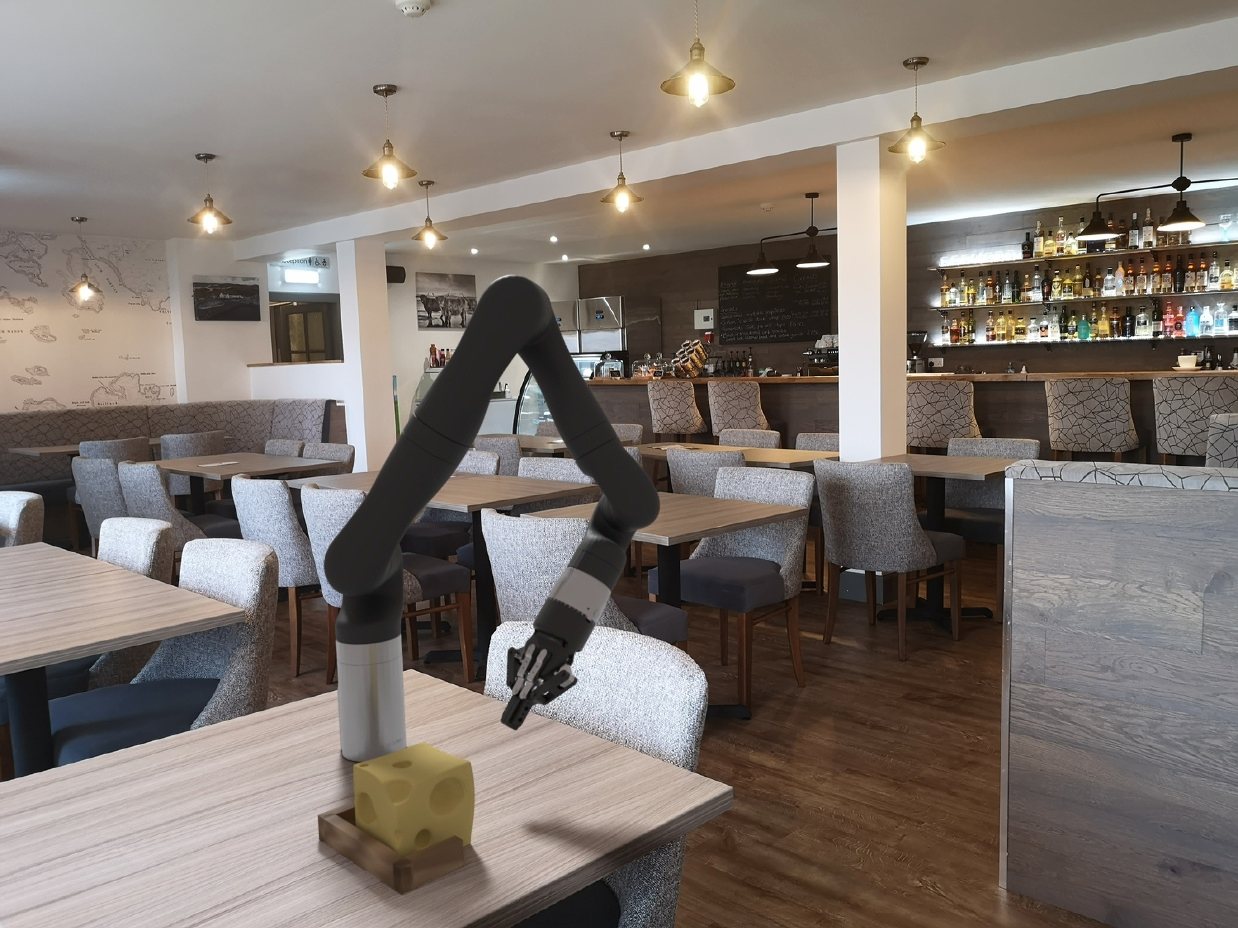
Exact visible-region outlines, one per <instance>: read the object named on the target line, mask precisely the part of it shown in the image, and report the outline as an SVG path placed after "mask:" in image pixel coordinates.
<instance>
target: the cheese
mask: <svg viewBox="0 0 1238 928" xmlns="http://www.w3.org/2000/svg"><path fill="white" fill-rule="evenodd" d="M472 767H473V766H472V763H471V761H469V760H467V759H464V758H463V757H459V756H457V755H456V756H455V755H453V754H450V753H447V752H445V751H443V750H440V749H439V748H436V747H434V746H433V745H431V744H429V743H427V742H426V741H423V742H421V743H418V744H414V745H411V746H408V747H407V746H406V748H404V749H402V750H399V751H396V752H393V753H390V754H388V755H385V756H382V757H378V758H375V759H372V760H368V761H365V762H358V763H356V764H355V763H354V764H353V767H352V770H353V794H354V801H355V819H356V827H357V828H358V829H360V830H361V831H363V832H365V833H366V834H368V835H370V836H371V837H373V838H374V839H376V840H378V841H379V842H381V843H383V844H384V845H386V846H387V847H389V848H391V849H392V850H394V851H395V852H397V853H399V854H400V855H402V856H404V857H407V856H409V855H412V854H414V853H416V852H418V851H421V850H423V849H425V848H427V847H430V846H432V845H434V844H436V843H439V842H441V841H443V840H445V839H448V838H450V837H452V836H454V835H456V836H457V837H459V838H461V839H463V848H464V847H467V846H470V845H471V843H472V834H473V833H472V832H473V827H474V826H473V825H474V815H475V804H476V800H475V799H476V791H475V789H476V788H475V781H474V780H475V779H474V778H475V777H474V772H473V768H472Z"/></svg>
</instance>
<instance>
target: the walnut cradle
mask: <svg viewBox="0 0 1238 928" xmlns="http://www.w3.org/2000/svg"><path fill="white" fill-rule="evenodd" d="M317 828H318V840H320V841H321V842H323V844H326V845H327V846H329V848H331V849H333V850H334V851H336V852H338V854H340V855H342V856H343V857H345V859H348V860H349V861H351V862H352V863H353V864H355V865H357V866H358V867H360V868H361V869H362V870H364V871H366V872H367V873H369V874H370V875H372V876H373V877H374V878H376V879H378V880H379V881H380V882H382V883H383V884H385V885H387V886H388V887H389V888H391V889H392V890H394V891H395V892H397V893H398V894H400V895H401V896H403V895H405V894H406V893H409V892H411V891H413V890H416V889H418V888H419V887H423V886H424V885H426V884H429V883H430V882H432V881H435V880H436V879H438V878H440V877H443V876H445V875H447V874H448V873H449V874H450V873H452V872H454V871H456V870H457V869H460V868H461V867H464V866H465V854H464V847H463V839H461V838H459V837H457V836H456V835H454V836H452V837H450V838H448V839H445V840H443V841H441V842H439V843H436V844H434V845H432V846H430V847H427V848H425V849H423V850H421V851H418V852H416V853H414V854H412V855H409V856H407V857H404V856H402V855H400V854H399V853H397V852H395V851H394V850H392V849H391V848H389V847H387V846H386V845H384V844H383V843H381V842H379V841H378V840H376V839H374V838H373V837H371V836H370V835H368V834H366V833H365V832H363V831H361V830H360V829H358V828H357V827H356V819H355V800H354V801H351V802H348V803H345V804H343V805H340V806H338V807H335V808H332V809H330V810H327V811H325V812H322V813H320V814H317Z"/></svg>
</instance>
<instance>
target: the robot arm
mask: <svg viewBox="0 0 1238 928" xmlns="http://www.w3.org/2000/svg"><path fill="white" fill-rule="evenodd" d="M516 355H518V356H519V357H520V359H521V360H522V361H523V363H524V365H526V367H527V368H528V370H529V371H530V373H531V375H532V377H533V378H534V380H535V382H536V384H537V386H538V388H539V390H540V392H541V394H542V397H543V400H544V401H545V404H546V407H547V409H548V412H549V414H550V417H551V419H552V421H553V424H554V425H555V428H556V430H557V432H558V433H559V436H560V438H561V439H562V442H563V443H564V445H565V447H566V449H567V450H568V452H569V454H570V455H571V457H572V458H573V461H574V462H575V463H576V466H577V467H578V469H579V470H580V472H581V473H582V474H583V475H584V476H587V477H590V478H591V479H593V480H594V482H595V483H596V485H597V486H598V487H599V489H600V490H601V492H602V493H603V494H602V496H601V497H600V499H599V500H598V502H597V504H596V506H595V508H594V510H593V512H592V515H591V517H590V519H589V522H588V524H587V527H586V530H585V533H584V536H583V538H582V540H581V541H580V543H579V545H578V546H577V548H576V549H575V551H574V553H573V555H572V556H571V558H570V560H569V562H568V564H567V565H566V567H565V569H564V571H563V572H562V573H561V574H560V575H559V577H558V578H557V580H556V582H555V583H554V585H553V587H551V590H550V592H549V594H548V596H547V597H546V599H545V601H544V603H543V604H542V606H541V608H540V610H539V611H538V614H537V615H536V617H535V619H534V621H533V623H532V627H533V629H534V632H533V634H532V635H531V636H530V637H529V638H528V639H526V642H525V643H524V645H523V646H521V647H519V648H515V647H514V646H510V647H509V648H508V650H507V657H506V681H505V682H506V683H505V684H506V686H507V687H508V688H509V689H510V691H511V694H512V695H511V697H510V700H509V701H508V703H507V704H506V707H505V708H504V710H503V711H502V714H501V718H500V723H501V724H502V725H504V726H506V727H507V728H509V729H512V731H513V730H514V731H518V730H519V728H521V727H522V725H523V724H524V722H525V720H526V719H527V717H528V715H529V713H530V711H531V709H532V708H533V707H534V706H535V707H536V705H542V706H547V705H548V704H550V703H551V702H553V701H554V700H556V699H557V698H558V697H560V696H561V695H563V694H565V693H566V692H567V691H569V690H570V689H571V688H573V687H574V686H576V685H577V683H578V682H579V681H578V677H576V676H575V675H574V674H573V671H572V668H571V667H572V666H573V664H574V662H575V661H574V659H575V654H576V653H580V652H582V651H583V650H584V648H585V646H586V644H587V642H588V641H589V638H590V637H591V635H592V632H593V631H594V629H595V627H596V625H597V624H598V621H599V619H600V618H601V616H602V614H603V612H604V610H605V608H606V606H607V605H608V601H609V599H610V596H611V593H612V592H613V590H614V588H615V587H616V584H617V582H618V580H619V579H620V576H621V575H622V573H623V572H624V569H625V566H626V564H627V554H626V552H627V549H628V548H629V546H630V543H631V542H632V539H633V538H634V536H635V534H636V532H637V531H638V530H642V529H644V528H648V527H649V526H650V525H652V524H653V523H654V522H655V521H656V520H657V519H658V517H659V514H660V511H661V510H660V509H661V500H660V496H659V493H658V491H657V488H656V487H655V485H654V482H653V481H652V480H651V478H650V477H649V475H648V473H647V472H646V471H645V470H644V468H642V467H641V465H640V464H639V463H638V461H637V460H636V459H635V458H634V457H633V455H632V454H630V452H628V450H627V449H626V448H625V447H624V446H623V443H622V442H621V439H620V437H619V436H618V434H617V432H616V431H615V428H614V426H613V425H612V423H611V422H610V420H609V418H608V417H607V415H606V413H605V411H604V409H603V408H602V406H601V404H600V403H599V401H598V400H597V398H596V396H595V395H594V393H593V392H592V390H591V389H590V387H589V384H587V382H586V380H585V379H584V377H583V375H582V374H581V372H580V370H579V368H578V365H577V364H576V362H575V360H574V359H573V356H572V354H571V353H570V350H569V348H568V345H567V343H566V341H565V339H564V336H563V334H562V331H561V329H560V327H559V323H558V320H557V318H556V314H555V312H554V310H553V306H552V302H551V299H550V297H549V295H548V293H547V292H546V291H545V290H544V288H543V287H541V286H540V284H537V283H536V281H533V280H531V279H529V278H528V277H525V276H523V275H520V274H506V275H503V276H499V277H497V278H496V279H495V280H493V281H492V282H490V284H489V285H488V286H487V287H486V288H485V289H484V291H483V292H482V294H481V296H480V298H479V300H478V302H477V304H476V307H475V309H474V310H473V312H472V314H471V317H470V319H469V322H468V323H467V325H466V328H465V330H464V332H463V333H462V336H461V338H460V340H459V342H458V344H457V346H456V348H455V350H454V351H453V353H452V355H451V356H450V358H449V359H448V360H447V362H446V364H445V365H444V367H442V369H441V371H440V372H439V373H438V375H437V376H436V378H435V379H434V380H433V383H432V384H431V385H430V387H429V388H428V390H427V391H426V393H425V395H424V396H423V398H422V399H421V401H420V403H419V404H418V405H417V407H416V408H415V409H414V411H413V413H412V415H411V416H410V418H409V420H408V421H407V423H406V424H405V426H404V427H403V429H402V431H401V432H400V434H399V437H398V438H397V440H396V442H395V444H393V445H394V446H393V447H392V449H391V451H389V454H388V456H387V457H386V459H385V461H384V463H383V464H382V467H381V468H380V470H379V472H378V474H377V475H376V478H375V480H374V482H373V484H372V486H371V488H370V489H369V491H368V493H367V494H366V496H365V498H364V499H363V500H362V502H361V503H360V505H359V506H358V508H357V509H356V510H355V511H354V513H353V514H352V516H351V517H350V518H349V519H348V521H347V522H346V523H345V524H344V526H343V527H342V528H341V530H340V531H339V532H338V533H337V534H336V535H335V537H334V539H333V540H331V542H330V544H329V545H328V547H327V548H326V549H327V550H326V551H325V554H324V561H323V572H324V576H325V579H326V582H327V583H328V584H329V586H330V587H331V588H332V589H333V590H334V591H335V592H337V593H339V594H341V595H342V601H341V605H340V609H339V613H338V615H337V617H336V619H335V625H334V627H335V628H334V629H335V647H336V649H335V650H336V663H337V665H336V666H337V679H338V680H337V682H338V683H337V684H338V686H337V688H336V689H337V706H338V707H337V709H338V726H339V741H340V742H339V743H340V744H339V745H340V749H341V754H342V757H344V759H346V760H349V761H353V762H358V763H361V762H365V761H368V760H372V759H375V758H378V757H382V756H385V755H388V754H390V753H393V752H396V751H399V750H402V749H404V748H407V744H408V743H407V730H406V729H407V728H406V727H407V726H406V705H405V687H404V683H405V682H404V669H403V668H404V665H403V650H402V633H401V632H402V629H401V628H402V625H401V624H402V616H403V614H404V609H405V608H404V604H405V603H404V602H405V600H404V599H405V598H404V597H405V596H404V595H405V591H404V588H405V587H404V585H405V584H404V559H403V552H402V548H401V545H400V543H401V542H402V541H401V540H402V539H403V537H404V536H405V534H406V532H407V530H408V529H409V527H410V526H411V524H412V523H413V521H414V520H415V518H416V517H417V516H418V515H419V514H420V513H421V511H422V510H423V509H424V508H425V507H426V506H427V505H428V504H429V503H430V502H431V501H432V499H433V498H435V496H436V495H437V494H438V493H439V491H441V489H442V488H443V487H444V486H445V485H446V483H447V482H448V481H449V480H450V479H451V477H452V476H453V474H455V471H457V469H458V468H459V467H460V464H461V463H462V461H464V458H465V456H466V454H467V453H468V452H469V450H470V448H471V447H472V445H473V443H474V441H475V440H476V438H477V436H478V434H479V432H480V430H481V427H482V425H483V423H484V420H485V417H486V415H487V412H488V409H489V406H490V402H491V400H492V397H493V394H494V392H495V389H496V387H497V384H498V383H499V381H500V379H501V378H502V376H503V374H504V372H505V371H506V369H507V368H508V367H509V365H510V364H511V363H512V361H513V360H514V358H515V357H516Z"/></svg>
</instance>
